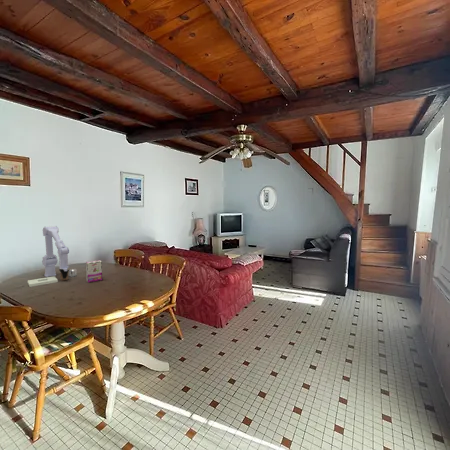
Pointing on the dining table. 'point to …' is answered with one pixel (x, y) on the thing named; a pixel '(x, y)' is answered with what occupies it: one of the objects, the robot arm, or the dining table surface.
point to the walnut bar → (62, 277)
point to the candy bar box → (94, 271)
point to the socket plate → (42, 281)
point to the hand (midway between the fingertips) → (64, 277)
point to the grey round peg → (72, 272)
